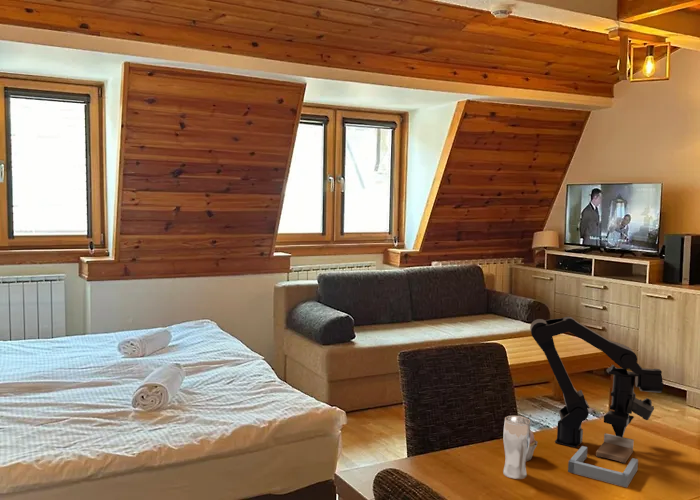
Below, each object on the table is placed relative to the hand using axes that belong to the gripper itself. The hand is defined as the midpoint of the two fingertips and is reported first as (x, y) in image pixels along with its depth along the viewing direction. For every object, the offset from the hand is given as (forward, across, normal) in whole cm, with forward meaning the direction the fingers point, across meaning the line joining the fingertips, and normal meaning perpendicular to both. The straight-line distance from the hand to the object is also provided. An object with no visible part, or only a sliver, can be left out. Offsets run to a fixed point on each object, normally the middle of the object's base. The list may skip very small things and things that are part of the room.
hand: (619, 440), depth 187 cm
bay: (+2, -19, 0) cm, 19 cm away
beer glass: (+3, -37, +19) cm, 42 cm away
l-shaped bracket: (+2, -6, 0) cm, 7 cm away
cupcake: (+3, -25, +22) cm, 33 cm away
